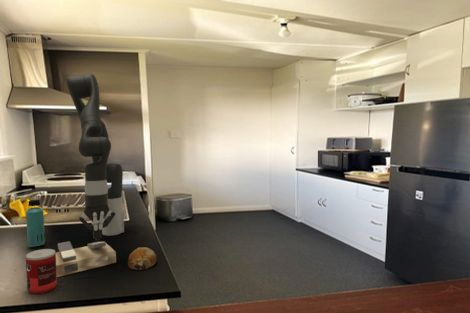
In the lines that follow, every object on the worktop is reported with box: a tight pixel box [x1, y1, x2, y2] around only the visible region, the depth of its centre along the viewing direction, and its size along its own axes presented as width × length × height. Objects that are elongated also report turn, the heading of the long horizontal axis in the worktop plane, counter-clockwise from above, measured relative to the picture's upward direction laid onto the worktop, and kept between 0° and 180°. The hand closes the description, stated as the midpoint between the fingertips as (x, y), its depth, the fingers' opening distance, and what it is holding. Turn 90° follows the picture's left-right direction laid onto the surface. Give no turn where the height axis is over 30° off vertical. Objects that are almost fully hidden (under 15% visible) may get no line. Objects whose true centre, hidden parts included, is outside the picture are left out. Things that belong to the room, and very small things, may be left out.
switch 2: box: [87, 241, 107, 250], centre depth 119 cm, size 4×10×2 cm, turn 38°
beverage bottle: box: [25, 199, 46, 247], centre depth 132 cm, size 6×7×20 cm
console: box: [55, 243, 117, 278], centre depth 116 cm, size 20×13×4 cm, turn 128°
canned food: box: [25, 248, 58, 295], centre depth 98 cm, size 8×8×11 cm
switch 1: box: [57, 240, 76, 261], centre depth 113 cm, size 4×10×2 cm, turn 38°
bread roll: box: [127, 246, 157, 271], centre depth 116 cm, size 10×10×8 cm
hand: (97, 239), depth 116 cm, fingers closed
